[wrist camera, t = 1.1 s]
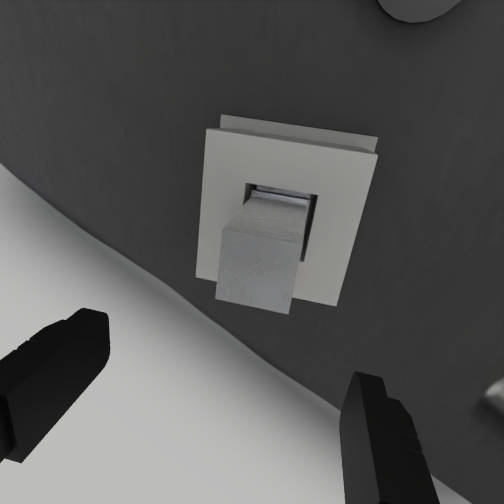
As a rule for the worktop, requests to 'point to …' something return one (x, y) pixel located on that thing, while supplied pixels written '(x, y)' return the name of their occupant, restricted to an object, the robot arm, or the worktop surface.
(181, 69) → the worktop surface
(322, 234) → the stand base
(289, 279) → the column
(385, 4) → the can
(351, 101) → the worktop surface
